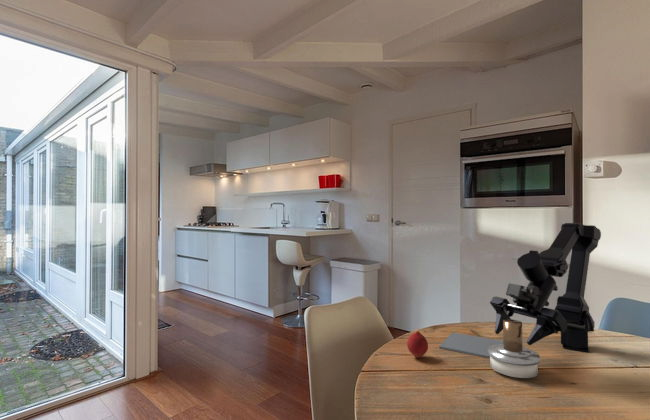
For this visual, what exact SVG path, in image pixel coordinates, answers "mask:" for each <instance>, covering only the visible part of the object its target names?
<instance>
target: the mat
mask: <svg viewBox="0 0 650 420" xmlns="http://www.w3.org/2000/svg"><path fill="white" fill-rule="evenodd" d="M496 344H504V342H503V340H499V339H493V338H487V337H483V336H476V335H471V334H464V333H459V332H458V333H457V332H451V334H450V335H448V336H447V337H446V338H445V339H444V341H443V342H442V343H440V345H439V346H438V348H439V349H442V350H447V351H451V352H458V353H461V354H466V355H471V356H475V357H481V358H486V359H490V356H489V354H488V347H489V346H491V345H496Z"/></svg>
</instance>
